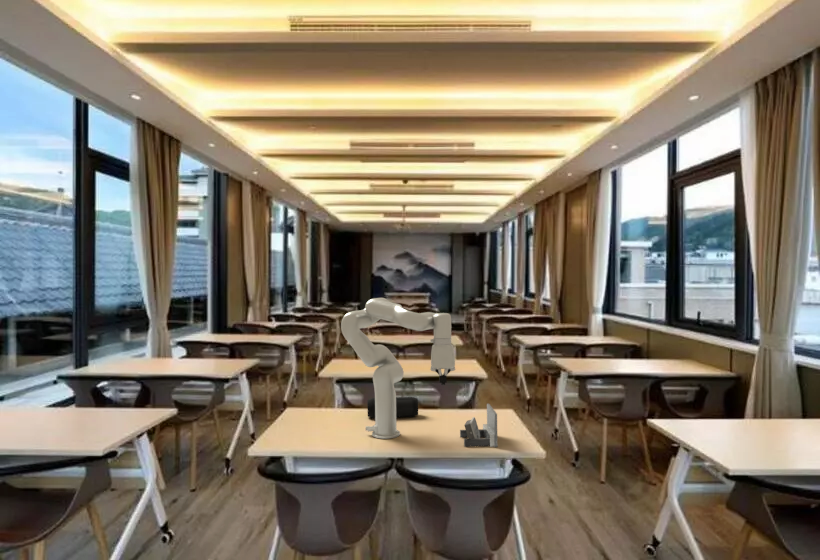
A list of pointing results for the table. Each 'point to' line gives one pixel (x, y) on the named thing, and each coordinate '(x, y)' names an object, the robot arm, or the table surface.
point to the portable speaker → (398, 407)
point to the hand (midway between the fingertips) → (443, 384)
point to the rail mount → (484, 432)
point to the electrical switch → (472, 429)
